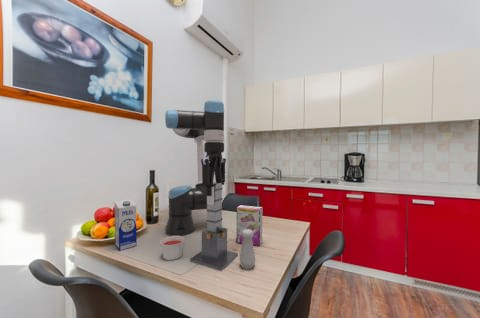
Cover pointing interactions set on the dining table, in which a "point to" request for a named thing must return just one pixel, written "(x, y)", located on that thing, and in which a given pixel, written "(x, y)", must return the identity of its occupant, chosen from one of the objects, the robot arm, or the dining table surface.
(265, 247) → the dining table surface
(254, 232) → the candy bar box
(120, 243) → the milk carton
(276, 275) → the dining table surface
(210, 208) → the column
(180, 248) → the candle
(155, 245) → the dining table surface
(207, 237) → the stand base
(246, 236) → the salt shaker
